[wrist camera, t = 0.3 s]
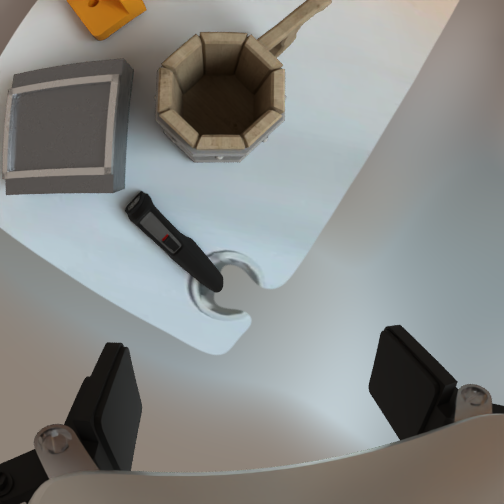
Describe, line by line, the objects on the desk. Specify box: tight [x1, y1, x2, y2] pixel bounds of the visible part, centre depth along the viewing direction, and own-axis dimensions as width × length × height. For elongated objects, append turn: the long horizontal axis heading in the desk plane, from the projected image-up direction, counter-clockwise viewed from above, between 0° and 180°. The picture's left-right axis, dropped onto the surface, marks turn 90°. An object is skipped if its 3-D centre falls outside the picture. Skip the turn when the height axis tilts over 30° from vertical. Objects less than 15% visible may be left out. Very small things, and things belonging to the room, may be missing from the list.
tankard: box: [154, 0, 332, 163], centre depth 29 cm, size 20×13×15 cm, turn 134°
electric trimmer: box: [125, 191, 223, 292], centre depth 39 cm, size 4×16×3 cm, turn 42°
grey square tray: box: [3, 59, 134, 195], centre depth 32 cm, size 15×15×6 cm
